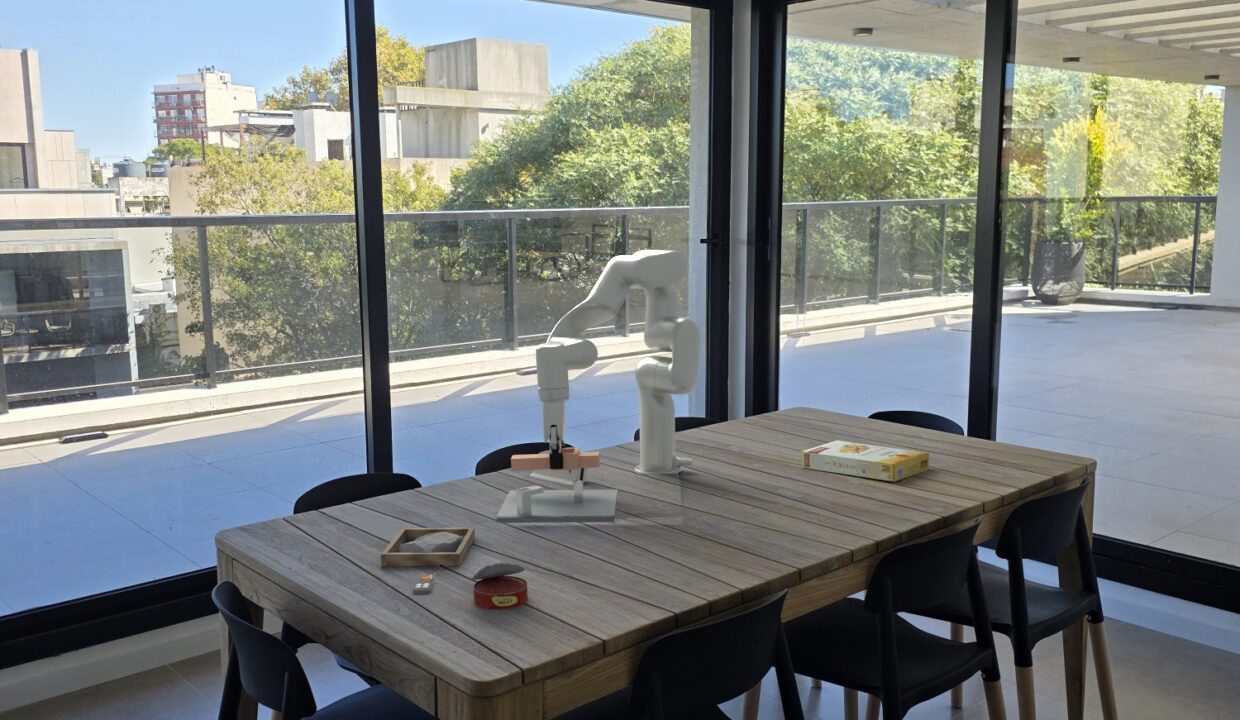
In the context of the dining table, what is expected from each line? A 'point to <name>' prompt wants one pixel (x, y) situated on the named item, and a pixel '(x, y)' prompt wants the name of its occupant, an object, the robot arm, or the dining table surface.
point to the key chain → (423, 585)
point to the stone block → (433, 543)
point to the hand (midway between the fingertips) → (558, 464)
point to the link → (570, 460)
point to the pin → (578, 491)
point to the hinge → (560, 474)
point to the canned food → (499, 587)
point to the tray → (424, 559)
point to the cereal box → (865, 460)
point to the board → (562, 506)
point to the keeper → (526, 498)
